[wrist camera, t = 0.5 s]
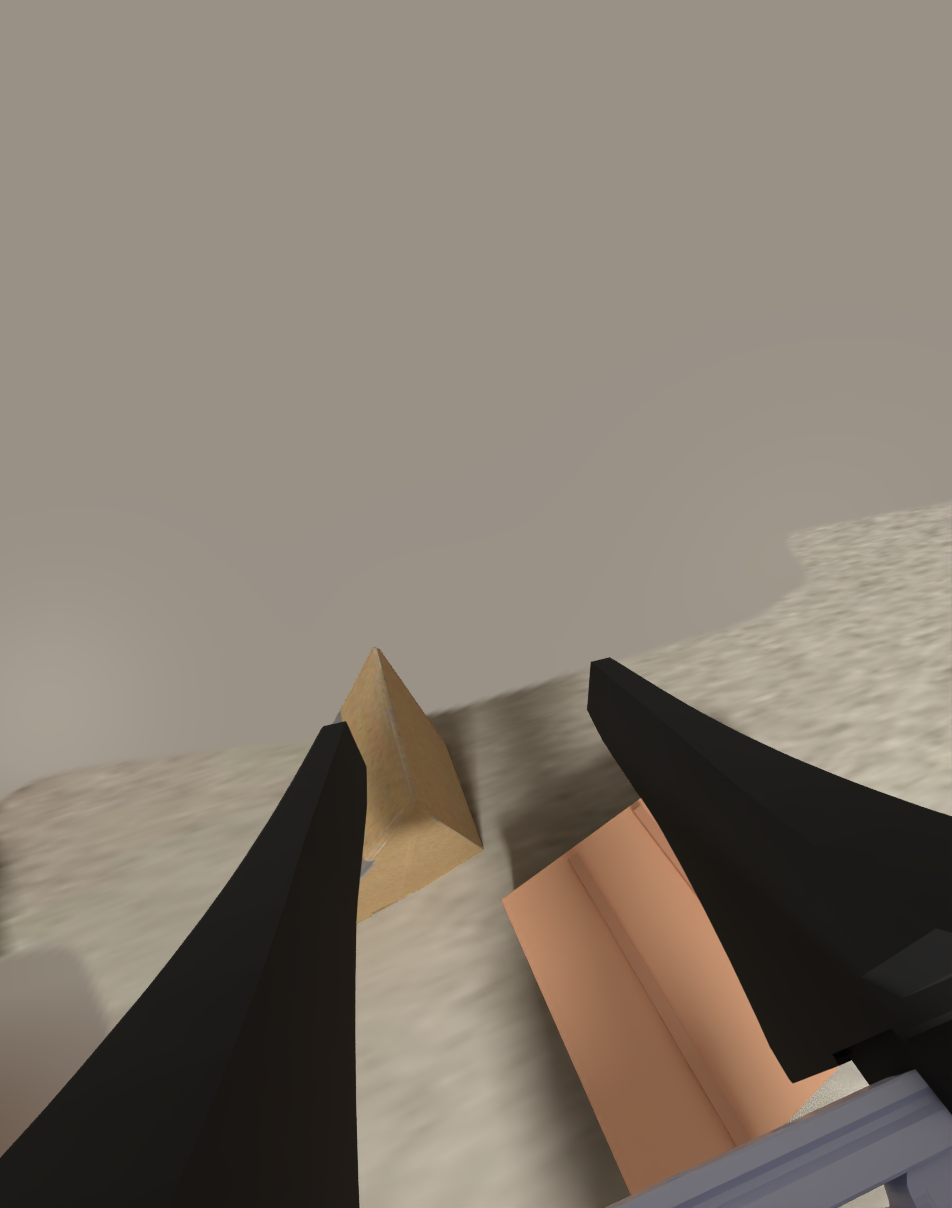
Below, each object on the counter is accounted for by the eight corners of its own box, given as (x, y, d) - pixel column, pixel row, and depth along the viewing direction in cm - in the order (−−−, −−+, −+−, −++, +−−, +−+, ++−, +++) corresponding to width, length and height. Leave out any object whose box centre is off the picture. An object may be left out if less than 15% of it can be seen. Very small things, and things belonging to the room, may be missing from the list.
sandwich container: (268, 828, 27) (68, 776, 16) (445, 740, 29) (375, 640, 18) (266, 975, 22) (-43, 1049, 11) (485, 853, 24) (420, 808, 13)
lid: (951, 929, 16) (1016, 933, 13) (654, 1245, 12) (676, 1320, 10) (732, 732, 22) (751, 713, 20) (502, 900, 19) (495, 899, 17)
